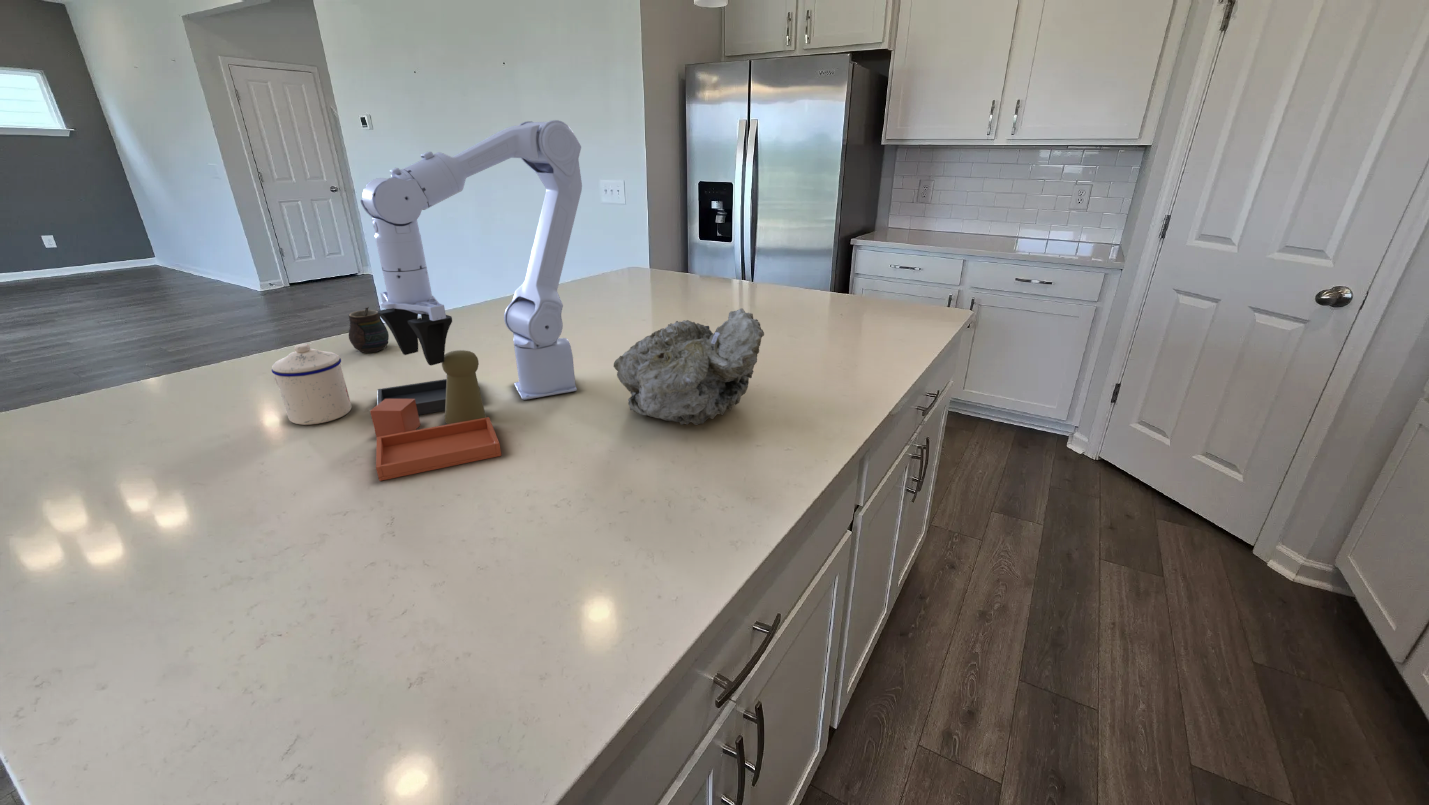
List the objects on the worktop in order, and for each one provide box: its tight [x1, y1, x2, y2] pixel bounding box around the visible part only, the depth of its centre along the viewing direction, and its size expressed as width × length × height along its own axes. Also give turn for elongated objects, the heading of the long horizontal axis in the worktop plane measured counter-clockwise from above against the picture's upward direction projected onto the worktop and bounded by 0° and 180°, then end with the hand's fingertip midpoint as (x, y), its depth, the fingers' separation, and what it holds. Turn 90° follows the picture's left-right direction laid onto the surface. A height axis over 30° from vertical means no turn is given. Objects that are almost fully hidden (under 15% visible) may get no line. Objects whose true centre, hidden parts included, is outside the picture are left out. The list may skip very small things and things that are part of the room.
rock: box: [613, 308, 765, 426], centre depth 93 cm, size 24×17×25 cm
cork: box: [441, 349, 487, 425], centre depth 91 cm, size 6×6×11 cm
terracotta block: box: [369, 399, 421, 438], centre depth 88 cm, size 4×4×4 cm
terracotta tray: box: [375, 416, 502, 482], centre depth 82 cm, size 15×10×2 cm, turn 118°
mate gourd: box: [348, 306, 390, 354], centre depth 122 cm, size 7×8×10 cm
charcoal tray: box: [376, 378, 447, 416], centre depth 99 cm, size 15×10×2 cm, turn 118°
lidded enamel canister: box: [271, 343, 352, 426], centre depth 92 cm, size 12×9×12 cm
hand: (423, 358), depth 89 cm, fingers open, 7 cm apart
